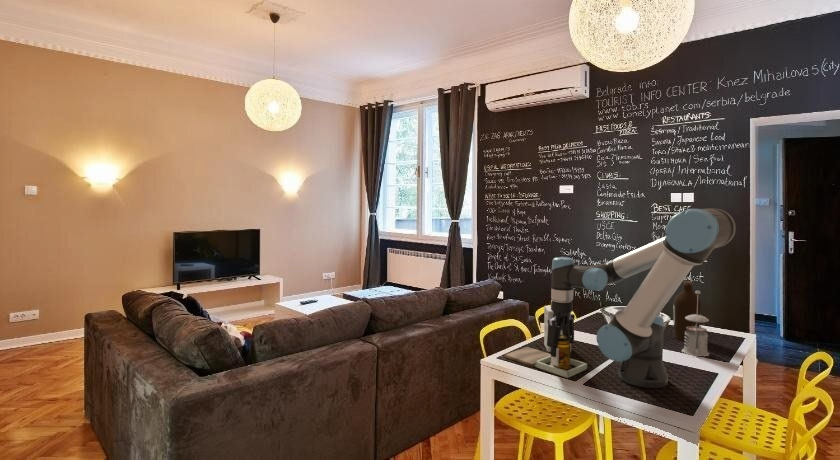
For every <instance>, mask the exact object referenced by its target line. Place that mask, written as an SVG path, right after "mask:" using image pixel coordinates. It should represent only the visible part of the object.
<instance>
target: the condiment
mask: <svg viewBox="0 0 840 460" xmlns="http://www.w3.org/2000/svg"><path fill="white" fill-rule="evenodd" d="M557 348H559V366H555V365H552V364H551V362H549V363H548V365H550V366H553V367H556V368H559V369H562V370H565V371H568V370H571V369H573V368H572V365H571V364H570V358H571V352H570V344H569V337H568V336H567V335H560V337H559V342H558V347H557Z"/></svg>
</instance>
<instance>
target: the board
mask: <svg viewBox="0 0 840 460" xmlns="http://www.w3.org/2000/svg"><path fill="white" fill-rule="evenodd" d="M550 355H551V353H550V352H545V351H542V350H539V349H535V348H532V347H530V346H526V347H522V348H519V349H516V350H514V351H511V352H507V353H505V354H504V358H506V359H509V360H512V361H515V362H518V363H521V364H523V365H526V366H529V367H532V366H533V367H535V361H537V360H540V359H543V358H545V357H548V356H550Z"/></svg>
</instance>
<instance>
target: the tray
mask: <svg viewBox="0 0 840 460" xmlns="http://www.w3.org/2000/svg"><path fill="white" fill-rule="evenodd" d="M549 363H551V355H550V356H548V357H545V358H543V359H540V360H537V361H535V366H534V367H535V368H538V369H541V370H543V371H546V372H549V373H551V374H554V375H558V376H561V377H564V378H566V379H568V378H571V377H573V376H575V375H577V374H581V373H582V372H584V371H586V370H587V369H588V363H587V362H584V361H580V360H579V359H578V360H577V359H574V358H571V357H570V366H574V367H573V368H572V369H571V370H568V371H565V370H562V369H559V368H556V367H553V366H550V364H549Z"/></svg>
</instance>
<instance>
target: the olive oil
mask: <svg viewBox="0 0 840 460" xmlns="http://www.w3.org/2000/svg"><path fill="white" fill-rule="evenodd" d="M697 295H698V294H696V293H695V292H694V291H693V282H692V281H690V280H683V289H682V290H681V291H680V292H679V293H678V294H677V295H675V296H674V299H673V304H672V306H673V307H672V310H673V338H674V339H676V340H678V341H683V342H685V341H684V340H685V336H686V337H688V336H687V335H685V330H687V329H686V327H688V326H695V325H696V322H692V321H688V320H686V319H685V317H686V316H689V315H694V314H698V315H701V316H702V308H703V307H702V305H703V304H702V301H701V299H700V298H699V296H698V313H697ZM700 325H701V323H699V322H697V327H700ZM688 339H689V338H688ZM686 340H687V339H686ZM688 342H689V341H688Z"/></svg>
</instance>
